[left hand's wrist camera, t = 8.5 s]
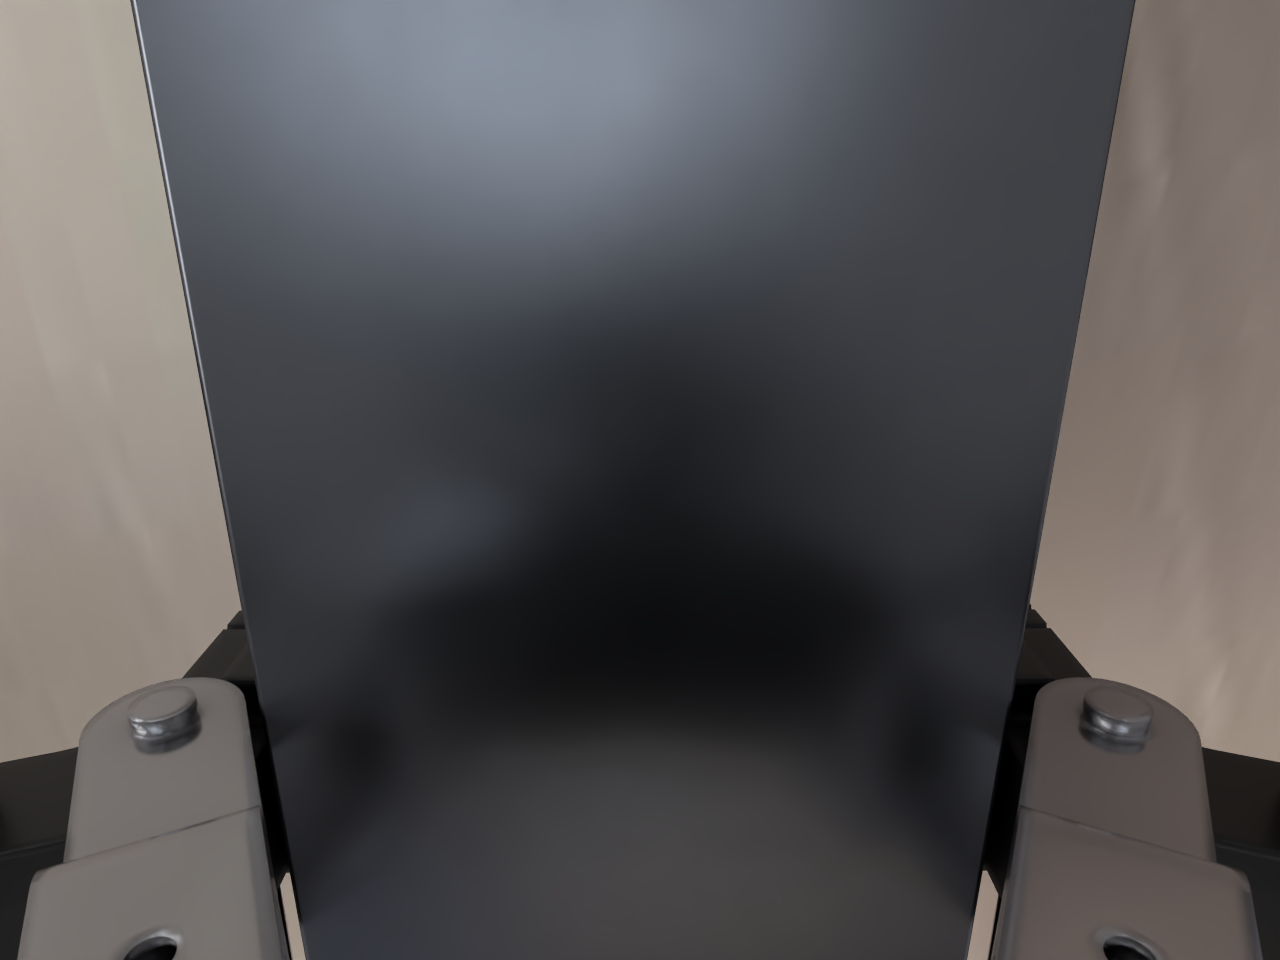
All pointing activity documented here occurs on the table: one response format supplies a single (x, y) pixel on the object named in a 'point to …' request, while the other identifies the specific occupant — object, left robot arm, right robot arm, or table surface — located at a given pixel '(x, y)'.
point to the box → (634, 446)
